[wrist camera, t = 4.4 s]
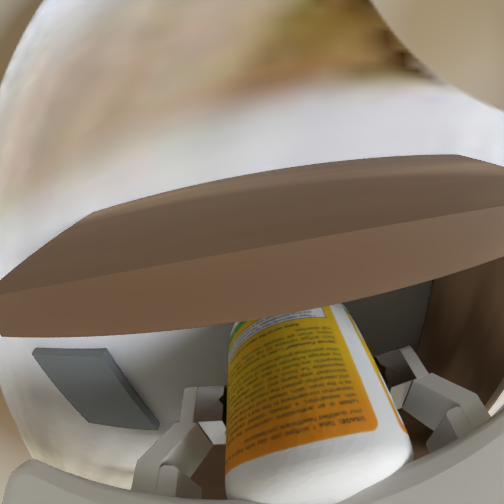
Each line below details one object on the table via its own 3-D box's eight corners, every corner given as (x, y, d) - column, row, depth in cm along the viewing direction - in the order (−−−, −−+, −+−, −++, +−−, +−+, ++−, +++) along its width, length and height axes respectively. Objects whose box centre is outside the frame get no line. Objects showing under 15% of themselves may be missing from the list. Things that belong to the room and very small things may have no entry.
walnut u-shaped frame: (417, 383, 14) (452, 452, 8) (197, 426, 15) (190, 508, 9) (456, 154, 8) (573, 194, 3) (92, 212, 9) (-20, 298, 3)
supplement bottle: (207, 353, 12) (188, 571, 3) (274, 260, 10) (339, 584, 1) (302, 386, 13) (334, 559, 4) (373, 315, 11) (471, 510, 2)
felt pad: (159, 422, 14) (157, 430, 14) (90, 416, 15) (88, 422, 14) (106, 348, 12) (102, 356, 11) (36, 348, 12) (31, 354, 11)
